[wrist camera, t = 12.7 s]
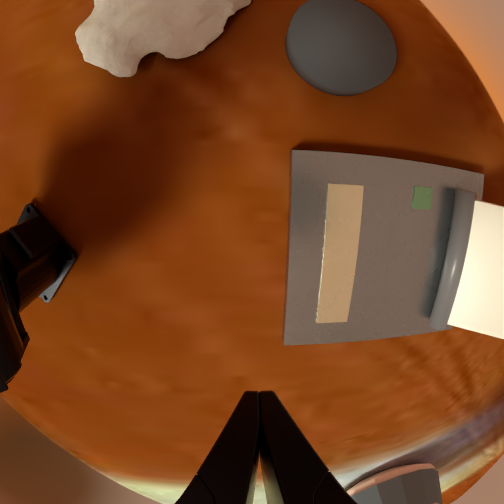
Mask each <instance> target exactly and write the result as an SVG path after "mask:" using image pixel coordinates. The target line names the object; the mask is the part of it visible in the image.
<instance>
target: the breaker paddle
mask: <svg viewBox="0 0 504 504" xmlns="http://www.w3.org/2000/svg"><path fill="white" fill-rule="evenodd" d="M476 198H477V193H474V192H471V191H467V190H461V189H455V198H454V207H453V214H452V222H451V228H450V234H449V240H448V246H447V251H446V256H445V261H444V266H443V270H442V275H441V279H440V283H439V287H438V291H437V295H436V299H435V302H434V306H433V309H432V313H431V316H430V319H429V325H430V326H431V327H432V328H434V329H437V330H445V329H446V328H447V327H448V324H449V325H452V326H456V327H460V328H463V329H467V330H471V331H475V332H479V333H482V334H486V335H490V336H494V337H498V338H502V339H504V206H501V205H497V204H493V203H488V202H484V201H480V200H476Z"/></svg>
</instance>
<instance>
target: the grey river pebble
mask: <svg viewBox="0 0 504 504" xmlns="http://www.w3.org/2000/svg"><path fill="white" fill-rule="evenodd" d="M285 45H286V52H287V56H288V59H289V61H290V63H291V65H292V67H293V68H294V70H295V71H296V72H297V73H298V75H299V76H300V77H301V78H302V79H303V80H305V81H306V82H307V83H308V84H310V85H311V86H313V87H315V88H316V89H318V90H320V91H323V92H325V93H328V94H332V95H337V96H352V95H357V94H360V93H363V92H365V91H367V90H370V89H372V88H374V87H376V86H378V85H380V84H382V83H383V82H385V81H386V80H387V79H388V78H389V76H390V75H391V74H392V72H393V70H394V68H395V65H396V60H397V48H396V43H395V40H394V37H393V35H392V33H391V31H390V29H389V27H388V26H387V25H386V23H385V22H384V21H383V20H382V19H381V17H380V16H379V15H377V14H376V13H375V12H374V11H373V10H371V9H370V8H369V7H367V6H365V5H364V4H362V3H360V2H358V1H355V0H309V1H307V2H306V3H304V4H303V5H302V6H300V7H299V8H298V9H297V11H296V12H295V14H294V15H293V18H292V20H291V23H290V26H289V29H288V32H287V35H286V42H285Z"/></svg>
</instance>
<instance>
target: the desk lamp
mask: <svg viewBox="0 0 504 504" xmlns="http://www.w3.org/2000/svg"><path fill="white" fill-rule="evenodd" d="M346 492H347V493H348V494H349V495H350V496H351V497H352V498H353V499H354V500H355V501H356V502H357V503H358V504H442V497H441V489H440V482H439V476H438V471H436V470H435V467H434V466H433V465H432V464H431V463H428V464H412V465H402V466H398V467H394V468H390V469H388V470H385V471H382V472H380V473H377V474H374V475H372V476H370V477H368V478H366V479H364V480H362V481H360V482H359V483H357V484H356V485H354V486H353V487H351V488H350V489H349V490H347V491H346Z"/></svg>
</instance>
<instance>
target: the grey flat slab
mask: <svg viewBox="0 0 504 504" xmlns="http://www.w3.org/2000/svg"><path fill="white" fill-rule="evenodd" d="M483 185H484V174H480V173H476V172H471V171H466V170H462V169H457V168H452V167H446V166H441V165H435V164H429V163H423V162H417V161H410V160H403V159H396V158H388V157H380V156H371V155H361V154H350V153H338V152H324V151H307V150H290V185H289V219H288V246H287V268H286V287H285V304H284V320H283V335H282V339H283V345H304V344H324V343H339V342H352V341H363V340H374V339H383V338H392V337H400V336H408V335H416V334H423V333H429V332H436V331H442V330H437V329H434V328H432V327H431V326H430V325H429V319H430V316H431V313H432V309H433V306H434V302H435V299H436V295H437V291H438V287H439V283H440V279H441V275H442V270H443V266H444V261H445V256H446V251H447V246H448V240H449V234H450V228H451V222H452V214H453V207H454V198H455V189H461V190H467V191H471V192H474V193H477V198H476V200H480V201H482V195H483ZM452 327H453V326H452V325H449V324H448V327H447V328H446V329H445V330H448V329H452Z"/></svg>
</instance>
